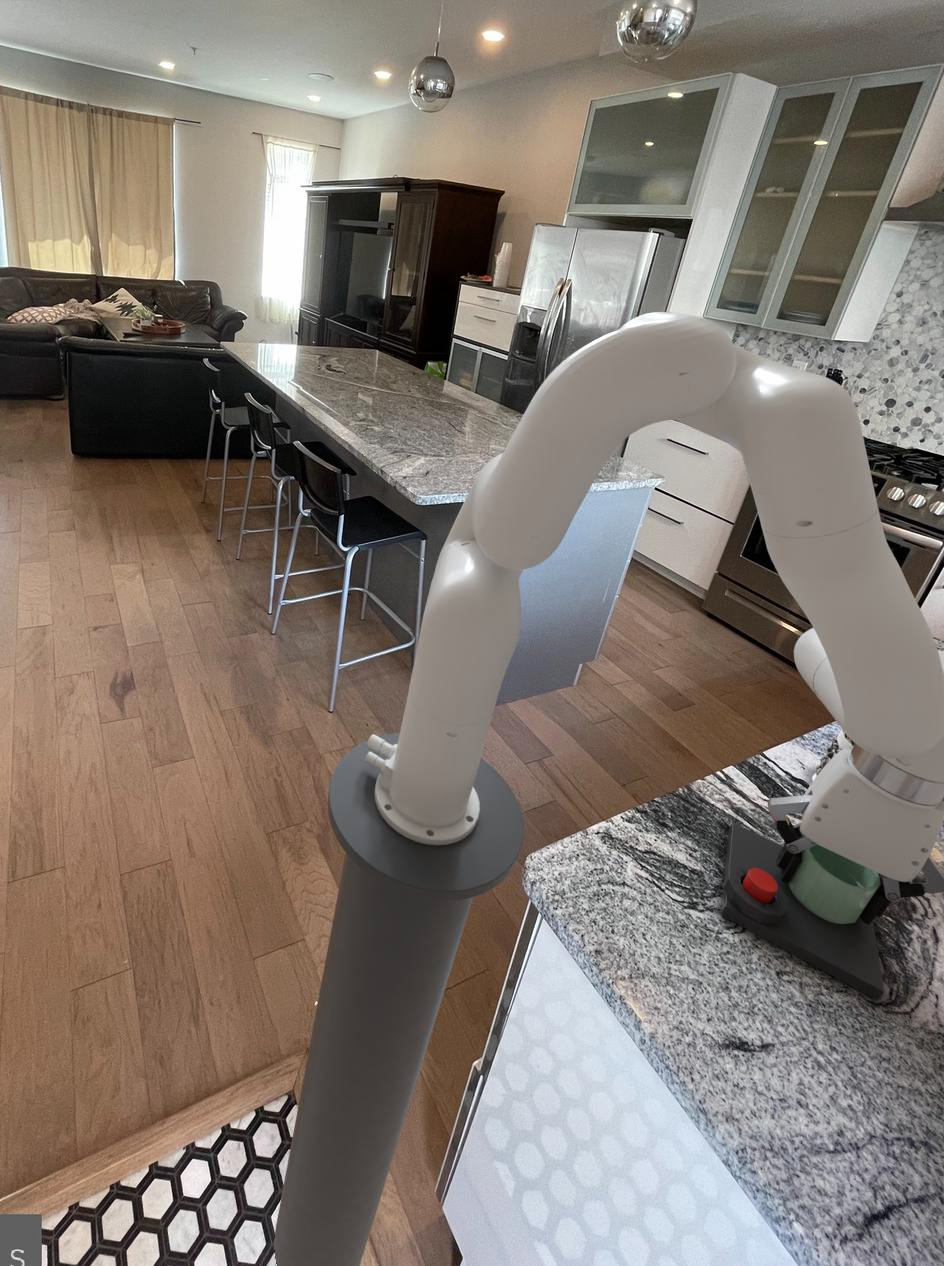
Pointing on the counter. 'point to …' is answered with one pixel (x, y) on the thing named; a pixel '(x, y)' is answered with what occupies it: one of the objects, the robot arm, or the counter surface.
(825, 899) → the bowl
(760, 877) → the button
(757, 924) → the scale
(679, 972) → the counter surface
